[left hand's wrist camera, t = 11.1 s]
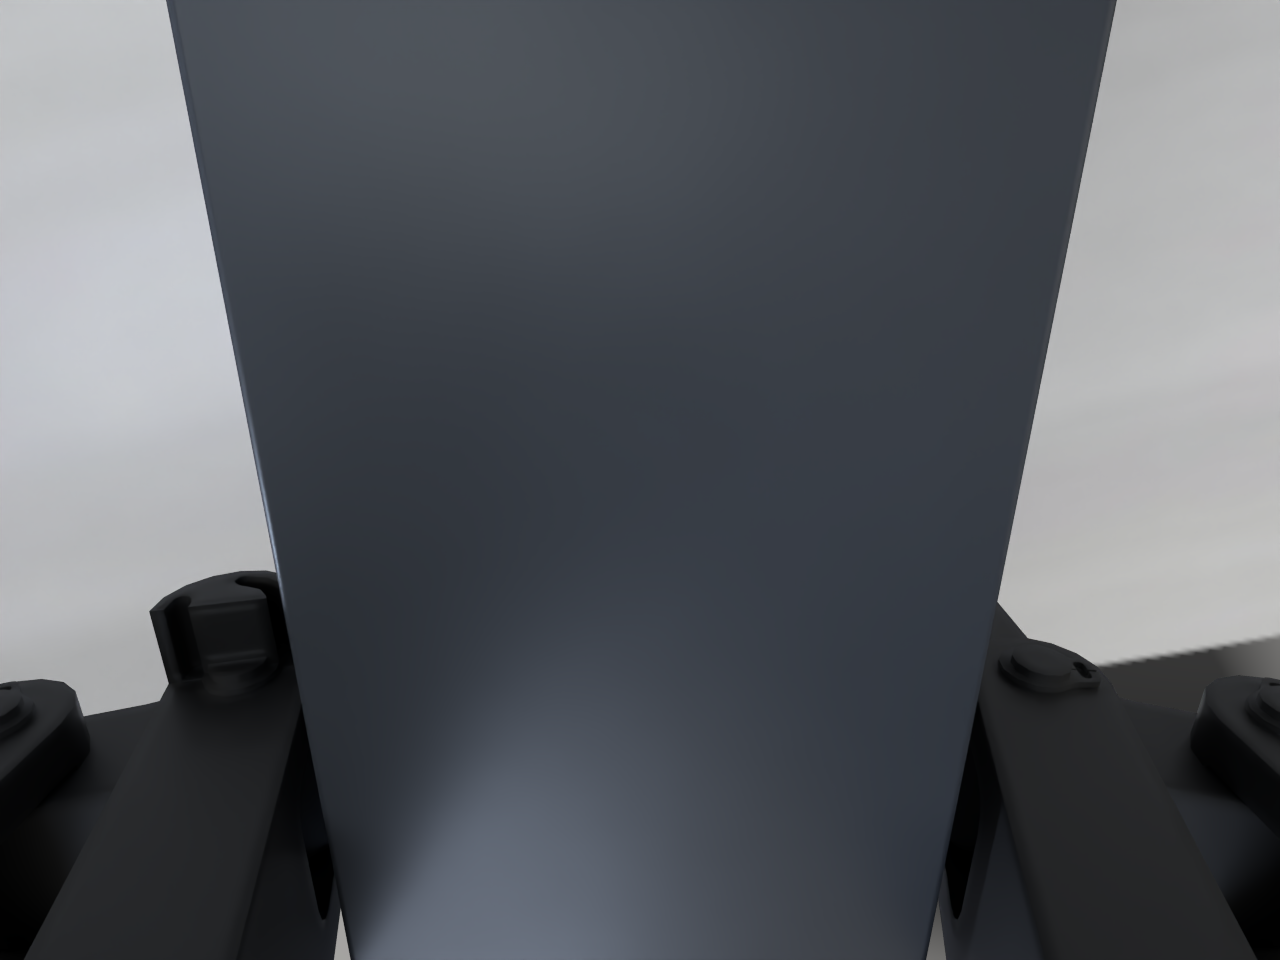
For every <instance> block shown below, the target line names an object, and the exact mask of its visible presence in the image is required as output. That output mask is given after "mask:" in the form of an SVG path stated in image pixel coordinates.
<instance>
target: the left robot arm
mask: <svg viewBox="0 0 1280 960" xmlns="http://www.w3.org/2000/svg"><path fill="white" fill-rule="evenodd" d="M149 612H150V616H151V619H152V623H153V627H154V631H155V634H156V638H157V642H158V645H159V649H160V653H161V656H162V660H163V664H164V668H165V671H166V675H167V679H168V682H169V684H168V686H167V688H166V690H165V692H164V694H163V696H162V698H161V700H160V701H158V702H154V703H150V704H146V705H141V706H136V707H131V708H125V709H120V710H115V711H110V712H104V713H99V714H94V715H89V716H83V713H82V710H81V707H80V704H79V701H78V698H77V695H76V692H75V690H73V689H72V688H71V687H69V686H68V685H67V684H65V683H64V682H59V681H52V680H45V679H37V680H28V681H18V682H16V681H13V682H7V683H2V684H0V960H334V954H335V947H336V939H337V931H338V924H339V916H340V909H341V906H340V901H339V896H338V891H337V885H336V880H335V875H334V870H333V865H332V859H331V854H330V849H329V844H328V839H327V833H326V828H325V823H324V818H323V813H322V807H321V802H320V797H319V792H318V787H317V781H316V776H315V771H314V766H313V761H312V755H311V750H310V745H309V740H308V735H307V729H306V724H305V719H304V714H303V709H302V703H301V698H300V693H299V688H298V683H297V677H296V672H295V667H294V662H293V657H292V651H291V646H290V641H289V636H288V631H287V625H286V620H285V615H284V610H283V605H282V599H281V594H280V589H279V584H278V579H277V573H275V572H270V571H239V572H233V573H228V574H222V575H217V576H212V577H209V578H206V579H203V580H200V581H197V582H195V583H192V584H189V585H186V586H184V587H182V588H180V589H178V590H177V591H175V592H173V593H171V594H169V595H167V596H166V597H164V598H163V599H162V600H161V601H160V602H159V603H158V604H156V605H155V606H154V607H153V608H152V609H151V610H150V611H149ZM938 899H939V907H940V914H941V922H942V930H943V937H944V945H945V952H946V960H1280V680H1278V679H1273V678H1260V677H1250V676H1241V675H1238V676H1230V677H1223V678H1217V679H1216V680H1214V681H1213V682H1212V683H1211V684H1209V685H1208V686H1206V687H1205V690H1204V693H1203V696H1202V699H1201V702H1200V706H1199V709H1198V712H1197V713H1195V712H1189V711H1184V710H1179V709H1174V708H1168V707H1163V706H1158V705H1152V704H1147V703H1142V702H1137V701H1132V700H1128V699H1124V698H1120V697H1119V696H1118V694H1117V693H1116V691H1115V689H1114V687H1113V685H1112V683H1111V682H1110V681H1109V679H1108V678H1107V677H1106V676H1105V675H1104V674H1103V672H1102V671H1101V670H1100V669H1099V668H1098V667H1097V666H1095V665H1094V664H1092V663H1091V662H1089V661H1088V660H1086V659H1084V658H1083V657H1081V656H1080V655H1078V654H1077V653H1074V652H1072V651H1069V650H1067V649H1064V648H1062V647H1059V646H1057V645H1054V644H1052V643H1047V642H1043V641H1038V640H1033V639H1029V638H1027V637H1026V636H1025V635H1024V633H1023V632H1022V631H1021V630H1020V629H1019V627H1018V626H1017V625H1016V624H1015V623H1014V621H1013V620H1012V619H1011V618H1010V617H1009V615H1008V614H1007V613H1006V612H1005V611H1004V609H1003V608H1002V607H1001V606H1000V605H999V603H998V602H997V605H996V610H995V615H994V620H993V625H992V630H991V635H990V640H989V645H988V650H987V655H986V660H985V665H984V670H983V675H982V680H981V685H980V690H979V696H978V701H977V706H976V711H975V716H974V721H973V726H972V731H971V736H970V741H969V746H968V751H967V756H966V761H965V766H964V771H963V776H962V781H961V786H960V791H959V796H958V801H957V806H956V811H955V816H954V821H953V826H952V831H951V836H950V841H949V846H948V851H947V856H946V862H945V867H944V872H943V877H942V882H941V887H940V892H939V897H938Z"/></svg>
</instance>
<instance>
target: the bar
mask: <svg viewBox="0 0 1280 960" xmlns="http://www.w3.org/2000/svg"><path fill="white" fill-rule="evenodd" d="M1116 1H1117V0H166V2H167V7H168V12H169V17H170V22H171V28H172V33H173V38H174V43H175V48H176V54H177V59H178V64H179V69H180V74H181V80H182V85H183V90H184V95H185V100H186V105H187V111H188V116H189V121H190V126H191V131H192V137H193V142H194V147H195V152H196V157H197V163H198V168H199V173H200V178H201V183H202V189H203V194H204V199H205V204H206V209H207V215H208V220H209V225H210V230H211V235H212V241H213V246H214V251H215V256H216V261H217V267H218V272H219V277H220V282H221V287H222V293H223V298H224V303H225V308H226V313H227V319H228V324H229V329H230V334H231V339H232V345H233V350H234V355H235V360H236V365H237V371H238V376H239V381H240V386H241V391H242V397H243V402H244V407H245V412H246V417H247V423H248V428H249V433H250V438H251V443H252V449H253V454H254V459H255V464H256V469H257V475H258V480H259V485H260V490H261V495H262V501H263V506H264V511H265V516H266V521H267V527H268V532H269V537H270V542H271V547H272V553H273V558H274V563H275V568H276V573H277V579H278V584H279V589H280V594H281V599H282V605H283V610H284V615H285V620H286V625H287V631H288V636H289V641H290V646H291V651H292V657H293V662H294V667H295V672H296V677H297V683H298V688H299V693H300V698H301V703H302V709H303V714H304V719H305V724H306V729H307V735H308V740H309V745H310V750H311V755H312V761H313V766H314V771H315V776H316V781H317V787H318V792H319V797H320V802H321V807H322V813H323V818H324V823H325V828H326V833H327V839H328V844H329V849H330V854H331V859H332V865H333V870H334V875H335V880H336V885H337V891H338V896H339V901H340V906H341V911H342V917H343V922H344V927H345V932H346V937H347V943H348V948H349V953H350V958H351V960H926V957H927V952H928V947H929V942H930V937H931V932H932V927H933V922H934V917H935V912H936V907H937V902H938V897H939V892H940V887H941V882H942V877H943V872H944V867H945V862H946V856H947V851H948V846H949V841H950V836H951V831H952V826H953V821H954V816H955V811H956V806H957V801H958V796H959V791H960V786H961V781H962V776H963V771H964V766H965V761H966V756H967V751H968V746H969V741H970V736H971V731H972V726H973V721H974V716H975V711H976V706H977V701H978V696H979V690H980V685H981V680H982V675H983V670H984V665H985V660H986V655H987V650H988V645H989V640H990V635H991V630H992V625H993V620H994V615H995V610H996V605H997V600H998V595H999V590H1000V585H1001V580H1002V575H1003V570H1004V565H1005V560H1006V555H1007V550H1008V545H1009V540H1010V535H1011V530H1012V525H1013V519H1014V514H1015V509H1016V504H1017V499H1018V494H1019V489H1020V484H1021V479H1022V474H1023V469H1024V464H1025V459H1026V454H1027V449H1028V444H1029V439H1030V434H1031V429H1032V424H1033V419H1034V414H1035V409H1036V404H1037V399H1038V394H1039V389H1040V384H1041V379H1042V374H1043V369H1044V364H1045V359H1046V354H1047V348H1048V343H1049V338H1050V333H1051V328H1052V323H1053V318H1054V313H1055V308H1056V303H1057V298H1058V293H1059V288H1060V283H1061V278H1062V273H1063V268H1064V263H1065V258H1066V253H1067V248H1068V243H1069V238H1070V233H1071V228H1072V223H1073V218H1074V213H1075V208H1076V203H1077V198H1078V193H1079V188H1080V182H1081V177H1082V172H1083V167H1084V162H1085V157H1086V152H1087V147H1088V142H1089V137H1090V132H1091V127H1092V122H1093V117H1094V112H1095V107H1096V102H1097V97H1098V92H1099V87H1100V82H1101V77H1102V72H1103V67H1104V62H1105V57H1106V52H1107V47H1108V42H1109V37H1110V32H1111V27H1112V22H1113V17H1114V11H1115V6H1116Z"/></svg>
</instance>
